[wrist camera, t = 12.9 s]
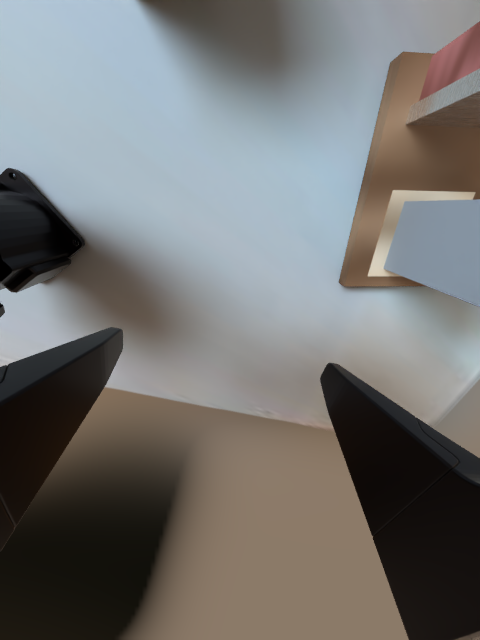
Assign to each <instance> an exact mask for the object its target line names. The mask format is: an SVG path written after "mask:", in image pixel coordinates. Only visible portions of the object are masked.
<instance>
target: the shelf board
mask: <svg viewBox="0 0 480 640" xmlns="http://www.w3.org/2000/svg"><path fill="white" fill-rule="evenodd" d="M477 199H480V22H478V23H477V24H475V25H474V26H473V27H471V28H470V29H469V30H467V31H466V32H464V33H463V34H462V35H460V36H459V37H458V38H456V39H455V40H453V41H452V42H451V43H449V44H448V45H447V46H445V47H444V48H442V49H441V50H440V51H438V52H437V53H436V54H430V53H415V52H402V53H401V54H400V55H399V56H398V57H396V58H395V59H394V60H393V61H392V62H391V63H390V66H389V71H388V75H387V79H386V83H385V88H384V92H383V96H382V100H381V105H380V109H379V113H378V117H377V122H376V126H375V130H374V134H373V139H372V143H371V147H370V151H369V156H368V160H367V164H366V168H365V173H364V177H363V181H362V185H361V190H360V194H359V198H358V202H357V207H356V211H355V215H354V219H353V224H352V228H351V232H350V236H349V241H348V245H347V249H346V253H345V258H344V262H343V266H342V270H341V275H340V279H339V283H340V284H342V285H343V286H426V285H423V284H421V283H418V282H416V281H413V280H411V279H408V278H405V277H403V276H400V275H398V274H395V273H393V272H390V271H388V270H385V269H383V268H384V265H385V262H386V258H387V255H388V252H389V249H390V246H391V243H392V240H393V236H394V233H395V230H396V227H397V224H398V221H399V218H400V214H401V211H402V208H403V205H404V202H405V201H439V200H477Z"/></svg>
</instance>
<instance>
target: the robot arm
mask: <svg viewBox="0 0 480 640" xmlns="http://www.w3.org/2000/svg"><path fill="white" fill-rule="evenodd" d="M13 174H15V175H16V178H17V179H16V180H15V179H14V177H13ZM75 240H77V241H78V242H79V245H77V244H76V243H75ZM84 245H85V243H84V240H83V239H82V238H81V237H80V236H79V234H78V233H77V232H76V231H75V230H74V229H73V228H72V227H71V226H70V225H69V224H68V223H67V222H66V220H65V219H64V218H63V217H62V216H61V215H60V214H59V213H58V212H57V211H56V210H55V209H54V208H53V206H52V205H51V204H50V203H49V202H48V201H47V200H46V199H45V198H44V197H43V196H42V195H41V193H40V192H39V191H38V190H37V189H36V188H35V187H34V186H33V185H32V184H31V183H30V182H29V181H28V179H27V178H26V177H25V176H24V175H23V174H22V173H21V172H20V171H19V170H16V169H12V168H8V169H6V170H5V171H4V172H3V173H2V174H1V175H0V290H1V289H4V288H7V289H8V290H9V291H11V292H19V291H21V290H24V289H26V288H29V287H31V286H34V285H36V284H38V283H41V282H43V281H46V280H48V279H50V278H53V277H54V276H55V275H56V274H58V273H59V272H60V271H62V270H63V269H64V268H65V267H67V266H68V265H69V264H71V260H70V259H69V258H70V257H71V256H73V255H74V254H75V253H77V252H78V251H79V250H80V249H82V248H83V247H84ZM4 313H5V310H4V306H3V305H2V304H1V303H0V317H1V316H2V315H3V314H4ZM122 349H123V331H122V329H119V328H112V327H111V328H108V329H105V330H102V331H99V332H96V333H94V334H91V335H88V336H85V337H83V338H80V339H77V340H74V341H71V342H69V343H66V344H63V345H60V346H58V347H55V348H52V349H49V350H46V351H44V352H41V353H38V354H35V355H33V356H30V357H27V358H24V359H21V360H19V361H16V362H13V363H10V364H8V366H7V365H5V366H2V367H0V551H1V550H2V548H3V547H4V545H5V544H6V542H7V540H8V539H9V537H10V536H11V534H12V532H13V531H14V527H16V526H17V524H18V523H19V521H20V520H21V518H22V516H23V515H24V513H25V512H26V510H27V508H28V507H29V505H30V504H31V502H32V501H33V499H34V497H35V496H36V494H37V493H38V491H39V489H40V488H41V486H42V485H43V483H44V482H45V480H46V479H47V477H48V475H49V474H50V472H51V471H52V469H53V467H54V466H55V464H56V463H57V461H58V460H59V458H60V456H61V455H62V453H63V452H64V450H65V448H66V447H67V445H68V444H69V442H70V441H71V439H72V437H73V436H74V434H75V433H76V431H77V430H78V428H79V426H80V425H81V423H82V421H83V420H84V419H85V417H86V415H87V414H88V412H89V411H90V409H91V408H92V406H93V404H94V403H95V401H96V400H97V398H98V396H99V395H100V393H101V392H102V390H103V389H104V387H105V385H106V383H107V381H108V379H109V377H110V375H111V373H112V371H113V369H114V367H115V365H116V363H117V361H118V359H119V356H120V354H121V352H122ZM320 381H321V386H322V390H323V394H324V398H325V402H326V406H327V410H328V413H329V416H330V419H331V422H332V424H333V427H334V430H335V433H336V436H337V438H338V441H339V444H340V447H341V450H342V452H343V455H344V458H345V461H346V464H347V467H348V469H349V472H350V475H351V478H352V481H353V483H354V486H355V489H356V492H357V495H358V497H359V500H360V503H361V506H362V509H363V512H364V514H365V517H366V520H367V523H368V525H369V528H370V531H371V534H372V536H373V540H374V543H375V546H376V549H377V551H378V554H379V557H380V560H381V563H382V565H383V568H384V571H385V574H386V577H387V579H388V582H389V585H390V588H391V591H392V593H393V596H394V599H395V602H396V605H397V608H398V610H399V613H400V616H401V619H402V622H403V625H404V627H405V630H406V633H407V636H408V638H409V640H480V458H478V457H477V456H475V455H474V454H472V453H470V452H469V451H467V450H465V449H464V448H462V447H461V446H459V445H458V444H456V443H455V442H453V441H451V440H450V439H448V438H447V437H445V436H444V435H442V434H440V433H439V432H437V431H436V430H434V429H433V428H431V427H430V426H428V425H427V424H425V423H424V422H422V421H421V420H420V419H418V418H415V416H414V415H412V414H411V413H409V412H408V411H406V410H405V409H403V408H402V407H400V406H399V405H397V404H396V403H394V402H393V401H391V400H390V399H388V398H387V397H385V396H384V395H383V394H381V393H380V392H378V391H377V390H375V389H374V388H372V387H371V386H369V385H368V384H366V383H365V382H363V381H362V380H360V379H359V378H357V377H356V376H354V375H353V374H352V373H350V372H349V371H347V370H346V369H344V368H343V367H341V366H340V365H338V364H334V363H328V364H327V365H326V367H325V369H324V371H323V373H322V375H321V378H320Z"/></svg>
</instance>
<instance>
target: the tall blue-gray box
mask: <svg viewBox="0 0 480 640" xmlns="http://www.w3.org/2000/svg"><path fill="white" fill-rule="evenodd" d="M383 269H385V270H388V271H390V272H393V273H395V274H398V275H400V276H403V277H405V278H408V279H411V280H413V281H416V282H418V283H421V284H423V285H426V286H428V287H431V288H433V289H436V290H438V291H441V292H443V293H446V294H448V295H451V296H453V297H456V298H458V299H461V300H463V301H466V302H468V303H471V304H473V305H476V306H479V307H480V199H477V200H439V201H405V202H404V205H403V208H402V211H401V214H400V218H399V221H398V224H397V227H396V230H395V233H394V236H393V240H392V243H391V246H390V249H389V252H388V255H387V258H386V262H385V265H384V268H383Z"/></svg>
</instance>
